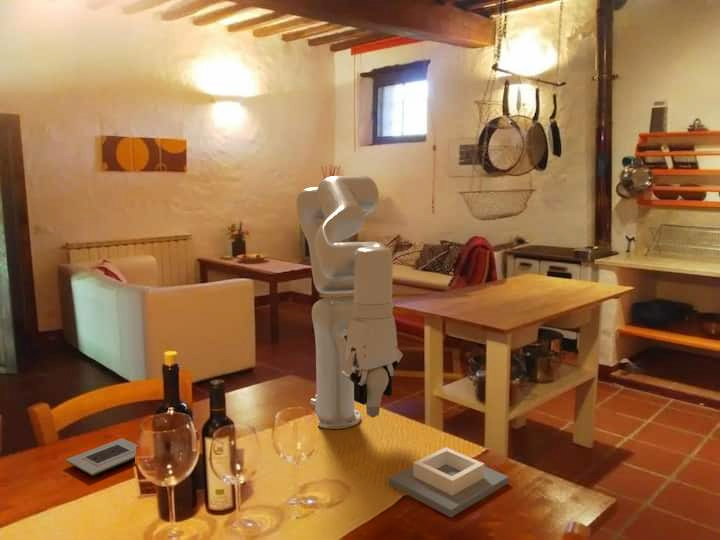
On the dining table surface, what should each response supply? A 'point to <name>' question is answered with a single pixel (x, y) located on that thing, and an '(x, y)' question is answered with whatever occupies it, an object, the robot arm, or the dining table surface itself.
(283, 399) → the dining table surface
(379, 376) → the lightbulb
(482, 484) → the lamp base
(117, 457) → the electrical outlet
